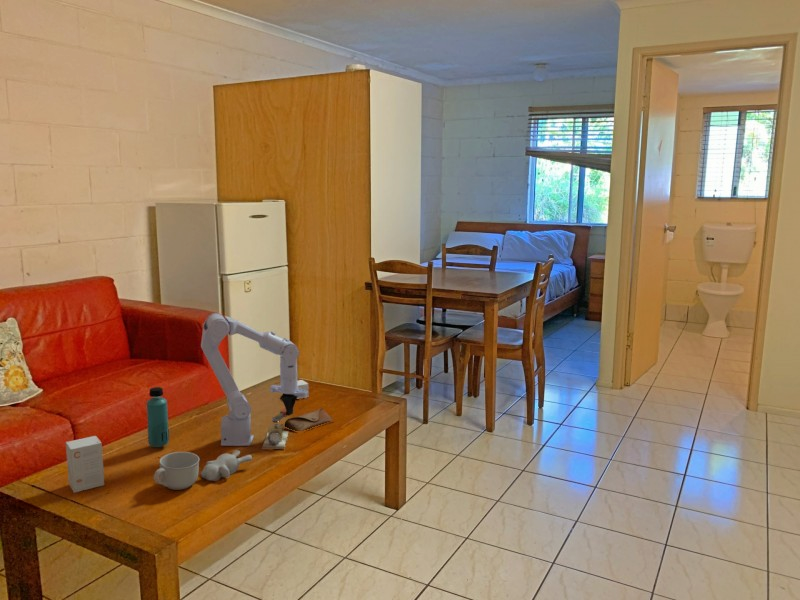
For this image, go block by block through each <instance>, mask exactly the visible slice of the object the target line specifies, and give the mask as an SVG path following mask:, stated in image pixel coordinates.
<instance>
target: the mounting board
mask: <svg viewBox="0 0 800 600" xmlns="http://www.w3.org/2000/svg"><path fill="white" fill-rule="evenodd" d="M288 434H290V430H286V431H284V430H283V439H282V441H280V442H279V443H278V444H277V445H274V446H273V445H271V444H270V443H269V441H268V432H267V434H266V436H265V438H264V441H263V445H262V448H261V449H284V450H285V448H286V445H285V444H287V442H286V441H288V438H289V435H288ZM287 437H288V438H287ZM284 447H285V448H284Z"/></svg>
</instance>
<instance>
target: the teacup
mask: <svg viewBox="0 0 800 600" xmlns="http://www.w3.org/2000/svg"><path fill="white" fill-rule="evenodd" d="M199 465H200V457H199V456H198V455H197V454H196V453H193V452H189V451H175V452H170V453H167V454H165V455H163V456H162V457H160V459H159V468H158V469H157V470H155V472H154V474H153V480H154V481H155V483H156V484H158V485H159V484H160V485H162V486H163V487H166V488H168V489H169V490H170V489H171V490H174V491H178V490H179V491H180V490H181V491H182V490H185V489H187V488H189V487H191V486H192V485H194V483H196V481H197V480H198V477H199V472H200V471H199V469H200V467H199Z"/></svg>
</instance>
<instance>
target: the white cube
mask: <svg viewBox="0 0 800 600" xmlns="http://www.w3.org/2000/svg"><path fill="white" fill-rule="evenodd" d="M297 384H298V388H300V389H302V390H305V391H308V397H309V394H310V393H309V391H310V386H309V382H307V381H305V380H303V379H297ZM299 398H303V397H299V396H298V398H297V399H299ZM299 400H300V399H299Z"/></svg>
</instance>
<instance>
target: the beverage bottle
mask: <svg viewBox="0 0 800 600" xmlns="http://www.w3.org/2000/svg"><path fill="white" fill-rule="evenodd" d="M148 394H149V397H150V398H149V399H148V400H147V401H146V403H145V404H146V415H147V416H146V419H147V442H148V445H149V446H150V447H153V448H154V447H155V448H159V447H165V446H167V445H168V444H169V442H170V429H169V413H168V412H169V411H168V400H167V399H166V398H164V397H163V395H164V391H163V388H162V387H160V386H158V387H156V386H155V387H151V388H150V389H149V393H148Z"/></svg>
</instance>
